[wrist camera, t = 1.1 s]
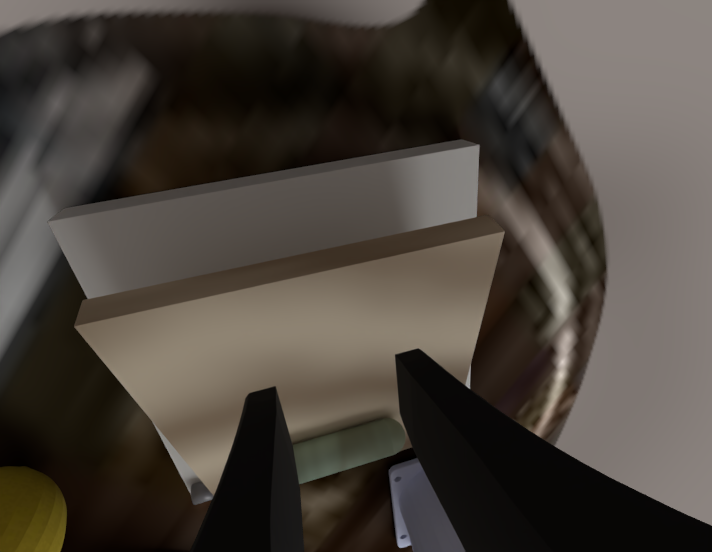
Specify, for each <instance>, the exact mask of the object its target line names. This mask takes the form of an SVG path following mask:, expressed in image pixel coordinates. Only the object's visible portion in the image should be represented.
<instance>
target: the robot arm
mask: <svg viewBox="0 0 712 552" xmlns="http://www.w3.org/2000/svg"><path fill="white" fill-rule="evenodd" d="M395 363H396V375H397V387H398V399H399V411H400V416H401V419H402V421H403V424H404V427H405V429H406V432H407V434H408V437H409V440H410V442H411V445H412V447H413V450H414V452H415V454H416V456H417V458H415V459H412V460H409V461H406V462H403V463H400V464H396V465H394V466H392V467H391V468H390V469H389V481H390V490H391V498H392V507H393V516H394V525H395V533H396V542H397V545H398V547H400V548H403V547H406V546H409V545H412V548H413V551H414V552H712V526H711V525H709V524H707V523H704V522H702V521H700V520H697V519H695V518H693V517H691V516H688V515H686V514H684V513H682V512H680V511H677V510H675V509H673V508H671V507H669V506H667V505H665V504H663V503H661V502H659V501H656V500H654V499H652V498H650V497H648V496H646V495H644V494H642V493H640V492H638V491H636V490H634V489H632V488H630V487H628V486H626V485H624V484H622V483H620V482H618V481H616V480H614V479H612V478H609V477H608V476H606V475H604V474H602V473H601V472H599V471H597V470H595V469H593V468H591V467H589V466H587V465H586V464H584V463H582V462H580V461H579V460H577V459H575V458H574V457H572V456H570V455H568V454H567V453H565V452H563V451H561V450H560V449H558V448H556V447H555V446H553V445H551V444H550V443H548V442H546V441H545V440H543V439H542V438H540V437H538V436H537V435H535V434H534V433H532V432H531V431H529V430H528V429H526V428H525V427H523V426H522V425H520V424H519V423H517V422H516V421H514V420H512V419H511V418H510V417H508V416H507V415H505V414H504V413H502V412H501V411H499V410H498V409H497V408H495V407H494V406H492V405H491V404H490V403H488V402H487V401H486V400H484V399H483V398H482V397H480V396H479V395H477V394H476V393H475V392H473V391H472V390H471V389H469V388H468V387H467V386H465V385H464V384H463V383H462V382H460V381H459V380H458V379H457V378H455V377H454V376H453V375H451V374H450V373H449V372H448V371H446V370H445V369H444V368H443V367H442V366H440V365H439V364H438V363H437V362H435V361H434V360H433V359H432V358H431V357H429V356H428V355H427V354H426V353H425V352H423V351H422V350H420V349H419V348H417V349H414V350H410V351H406V352H402V353H398V354H395ZM190 552H304V543H303V527H302V513H301V498H300V487H299V480H298V474H297V468H296V462H295V456H294V450H293V445H292V441H291V438H290V434H289V431H288V427H287V424H286V420H285V417H284V413H283V410H282V406H281V403H280V399H279V396H278V392H277V389H276V386H274V387H270V388H266V389H263V390H259V391H255V392H251V393H249V394H248V395H247V396H246V398H245V402H244V406H243V410H242V414H241V418H240V422H239V425H238V428H237V432H236V435H235V438H234V441H233V444H232V448H231V451H230V453H229V456H228V459H227V462H226V464H225V467H224V470H223V473H222V476H221V478H220V481H219V484H218V486H217V489H216V492H215V494H214V496H213V499H212V501H211V504H210V506H209V508H208V511H207V513H206V516H205V518H204V520H203V523H202V525H201V528H200V530H199V532H198V535H197V537H196V539H195V541H194V544H193V546H192V548H191V550H190Z"/></svg>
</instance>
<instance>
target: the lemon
mask: <svg viewBox="0 0 712 552" xmlns="http://www.w3.org/2000/svg"><path fill="white" fill-rule="evenodd" d="M66 518H67V509H66V503H65V500H64V497H63V495H62V492H61V490H60V489H59V487H58V486H57V485H56V484H55V482H54V481H53V480H52V479H51V478H50V477H48V476H47V475H45V474H43V473H42V472H39V471H36V470H34V469H31V468H29V467H27V466H21V467H15V466H6V467H0V552H60V551H61V548H62V545H63V541H64V536H65V531H66Z"/></svg>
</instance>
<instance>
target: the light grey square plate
mask: <svg viewBox="0 0 712 552" xmlns="http://www.w3.org/2000/svg"><path fill="white" fill-rule="evenodd" d="M478 168H479V145H478V144H475V143H472V142H468V141H465V140H462V139H461V140H455V141H449V142H443V143H438V144H432V145H426V146H420V147H415V148H409V149H403V150H397V151H392V152H386V153H380V154H374V155H368V156H363V157H357V158H351V159H345V160H340V161H334V162H328V163H322V164H317V165H311V166H305V167H299V168H294V169H288V170H282V171H276V172H271V173H265V174H259V175H253V176H247V177H242V178H236V179H230V180H224V181H219V182H213V183H207V184H201V185H196V186H190V187H184V188H178V189H173V190H167V191H161V192H155V193H149V194H144V195H138V196H132V197H126V198H121V199H115V200H109V201H103V202H98V203H92V204H86V205H80V206H75V207H69V208H64V209H63V210H62V211H60V212H59V213H58V214H56V215H55V216H54V217H53V218H51V219H50V220H49V221H47V222H48V224H49V226H50V228H51V230H52V232H53V234H54V236H55V237H56V239H57V241H58V243H59V245H60V247H61V249H62V251H63V253H64V255H65V256H66V258H67V260H68V262H69V264H70V266H71V268H72V270H73V272H74V274H75V275H76V277H77V279H78V281H79V283H80V285H81V287H82V289H83V291H84V293H85V294H86V296H87V298H88V299H91V298H96V297H100V296H105V295H110V294H115V293H119V292H124V291H129V290H134V289H138V288H143V287H148V286H153V285H157V284H162V283H167V282H172V281H176V280H181V279H186V278H190V277H195V276H200V275H205V274H209V273H214V272H219V271H224V270H228V269H233V268H238V267H243V266H247V265H252V264H257V263H262V262H266V261H271V260H276V259H281V258H285V257H290V256H295V255H299V254H304V253H309V252H314V251H318V250H323V249H328V248H333V247H337V246H342V245H347V244H352V243H356V242H361V241H366V240H371V239H375V238H380V237H385V236H390V235H394V234H399V233H404V232H408V231H413V230H418V229H423V228H427V227H432V226H437V225H442V224H446V223H451V222H456V221H461V220H465V219H470V218H475V217H477V193H478ZM470 371H471V365H470V369H469V372H468V376H467V380H466V384H465V386H467V387H468V388H469V389H470ZM153 424H154V423H153ZM154 426H155V427H156V429H157V431H158V433H159V435H160V437H161V439H162V441H163V443H164V445H165V446H166V448H167V450H168V452H169V454H170V456H171V458H172V460H173V462H174V464H175V466H176V467H177V469H178V471H179V473H180V475H181V477H182V479H183V481H184V483H185V485H186V486H187V488H188V490H189V492H190V494H191V499H192V502H193V504H194V505H196V504H199V503H202V502H206V501H209V500H212V499H213V494H212V493H211V492H210V491H209V489H208V488H207V487H206V486H205V485H204V483H203V482H202V481H201V480H200V479H199V477H198V476H197V475H196V474H195V473H194V471H193V470H192V469H191V468H190V466H189V465H188V464H187V463H186V462H185V460H184V459H183V458H182V457H181V456H180V454H179V453H178V452H177V451H176V449H175V448H174V447H173V446H172V445H171V443H170V442H169V441H168V440H167V439H166V437H165V436H164V435H163V434H162V432H161V431H160V430H159V429H158V428H157V426H156V425H155V424H154Z"/></svg>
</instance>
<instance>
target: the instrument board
mask: <svg viewBox="0 0 712 552" xmlns="http://www.w3.org/2000/svg"><path fill="white" fill-rule="evenodd" d="M504 233H505V231H504V230H503V229H502V228H501V227H500V226H499V225H498V224H497V223H496V222H495V221H494V220H493V219H492V217H491V216H490V215H484V216H480V217H475V218H470V219H465V220H461V221H456V222H451V223H446V224H442V225H437V226H432V227H427V228H423V229H418V230H413V231H408V232H404V233H399V234H394V235H390V236H385V237H380V238H375V239H371V240H366V241H361V242H356V243H352V244H347V245H342V246H337V247H333V248H328V249H323V250H318V251H314V252H309V253H304V254H299V255H295V256H290V257H285V258H281V259H276V260H271V261H266V262H262V263H257V264H252V265H247V266H243V267H238V268H233V269H228V270H224V271H219V272H214V273H209V274H205V275H200V276H195V277H190V278H186V279H181V280H176V281H172V282H167V283H162V284H157V285H153V286H148V287H143V288H138V289H134V290H129V291H124V292H119V293H115V294H110V295H105V296H100V297H96V298H91V299H86V300H83V301H82V304H81V307H80V310H79V313H78V316H77V319H76V322H75V325H74V327H75V328H76V329H77V331H78V332H79V333H80V334H81V335H82V337H83V338H84V339H85V340H86V341H87V343H88V344H89V345H90V346H91V348H92V349H93V350H94V351H95V352H96V354H97V355H98V356H99V357H100V358H101V360H102V361H103V362H104V363H105V365H106V366H107V367H108V368H109V369H110V371H111V372H112V373H113V374H114V375H115V377H116V378H117V379H118V380H119V381H120V383H121V384H122V385H123V386H124V388H125V389H126V390H127V391H128V392H129V394H130V395H131V396H132V397H133V398H134V400H135V401H136V402H137V403H138V405H139V406H140V407H141V408H142V409H143V411H144V412H145V413H146V414H147V415H148V417H149V418H150V419H151V420H152V422H153V423H154V424H155V425H156V426H157V428H158V429H159V430H160V431H161V432H162V434H163V435H164V436H165V437H166V439H167V440H168V441H169V442H170V443H171V445H172V446H173V447H174V448H175V449H176V451H177V452H178V453H179V454H180V456H181V457H182V458H183V459H184V460H185V462H186V463H187V464H188V465H189V466H190V468H191V469H192V470H193V471H194V473H195V474H196V475H197V476H198V477H199V479H200V480H201V481H202V482H203V483H204V485H205V486H206V487H207V488H208V489H209V491H210V492H211V493H212V494H213V496H214V494H215V492H216V489H217V486H218V484H219V481H220V478H221V476H222V473H223V470H224V467H225V464H226V462H227V459H228V456H229V453H230V451H231V448H232V444H233V441H234V438H235V435H236V432H237V428H238V425H239V422H240V418H241V414H242V410H243V406H244V402H245V398H246V396H247V395H248V394H249V393H251V392H255V391H259V390H263V389H266V388H270V387H274V386H276V389H277V392H278V396H279V399H280V403H281V406H282V410H283V413H284V417H285V420H286V424H287V427H288V431H289V434H290V438H291V441H292V445H293V450H294V456H295V462H296V468H297V474H298V480H299V484H301V483H305V482H308V481H311V480H314V479H318V478H321V477H324V476H327V475H330V474H334V473H337V472H340V471H343V470H347V469H350V468H353V467H356V466H360V465H363V464H366V463H369V462H372V461H376V460H379V459H382V458H385V457H389V456H392V455H395V454H397V453H398V452H399V451H402V450H405V449H408V448H412V445H411V442H410V440H409V437H408V434H407V432H406V429H405V427H404V424H403V421H402V419H401V416H400V411H399V399H398V387H397V375H396V363H395V354H398V353H402V352H406V351H410V350H414V349H417V348H419V349H420V350H422V351H423V352H425V353H426V354H427V355H428V356H429V357H431V358H432V359H433V360H434V361H435V362H437V363H438V364H439V365H440V366H442V367H443V368H444V369H445V370H446V371H448V372H449V373H450V374H451V375H453V376H454V377H455V378H457V379H458V380H459V381H460V382H462V383H463V384H464V385H465V384H466V380H467V376H468V372H469V369H470V365H471V361H472V357H473V353H474V349H475V345H476V341H477V338H478V334H479V330H480V326H481V322H482V318H483V314H484V310H485V306H486V303H487V299H488V295H489V291H490V287H491V283H492V279H493V275H494V272H495V268H496V264H497V260H498V256H499V252H500V248H501V244H502V241H503V237H504Z"/></svg>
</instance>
